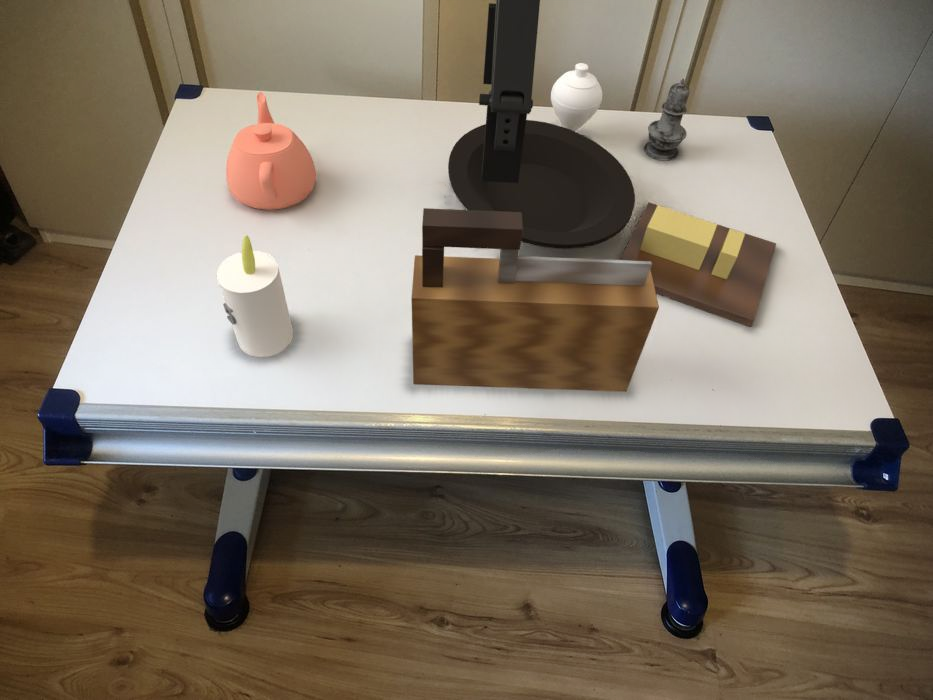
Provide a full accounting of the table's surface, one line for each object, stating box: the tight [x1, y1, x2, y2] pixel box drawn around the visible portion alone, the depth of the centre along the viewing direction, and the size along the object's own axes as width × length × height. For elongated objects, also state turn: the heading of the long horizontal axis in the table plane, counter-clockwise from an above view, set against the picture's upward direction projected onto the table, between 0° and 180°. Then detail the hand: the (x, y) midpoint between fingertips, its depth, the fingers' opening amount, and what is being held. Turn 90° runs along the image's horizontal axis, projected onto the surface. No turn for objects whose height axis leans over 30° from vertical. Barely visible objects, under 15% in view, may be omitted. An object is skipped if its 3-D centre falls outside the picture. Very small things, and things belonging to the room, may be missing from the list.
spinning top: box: [550, 62, 603, 132], centre depth 104 cm, size 8×8×12 cm
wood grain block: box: [410, 254, 660, 393], centre depth 73 cm, size 24×6×14 cm, turn 90°
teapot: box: [225, 92, 317, 211], centre depth 94 cm, size 12×18×10 cm
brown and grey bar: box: [421, 207, 652, 287], centre depth 65 cm, size 22×3×8 cm, turn 90°
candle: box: [216, 234, 294, 358], centre depth 74 cm, size 6×6×15 cm
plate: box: [447, 119, 636, 250], centre depth 95 cm, size 28×24×6 cm
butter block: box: [640, 204, 718, 270], centre depth 90 cm, size 5×8×4 cm, turn 64°
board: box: [619, 202, 777, 328], centre depth 91 cm, size 16×18×1 cm
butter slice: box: [712, 228, 745, 279], centre depth 88 cm, size 5×2×4 cm, turn 154°
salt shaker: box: [643, 78, 691, 162], centre depth 103 cm, size 6×6×12 cm
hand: (499, 127), depth 55 cm, fingers open, 13 cm apart
